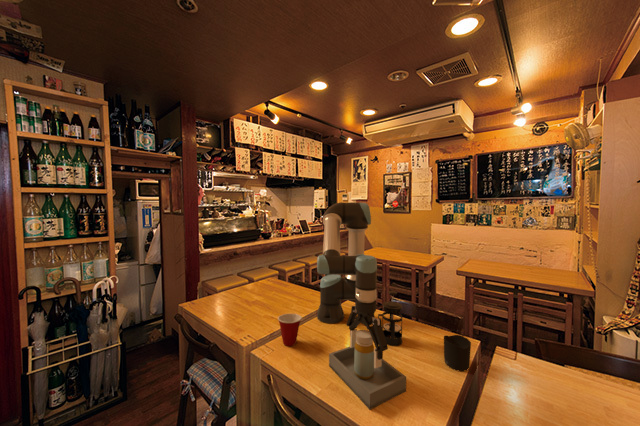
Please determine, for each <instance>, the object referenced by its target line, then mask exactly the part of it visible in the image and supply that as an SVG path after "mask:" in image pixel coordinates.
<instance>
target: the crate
mask: <svg viewBox="0 0 640 426" xmlns="http://www.w3.org/2000/svg"><path fill="white" fill-rule="evenodd" d="M354 351H355V347H353V348H351V347H350V346H348V347H345V348H341V349H338V350H336V351H332V352H330V353H328V366H329V368H330V369H331V370H332V372H334V373H335V374H336V375H337V376H338V377H339V379H340V380H342V382H343V383H344V384H345V385H346V386H347V387H348V388H349V390H351V392H353V393H354V395H356V397H357V398H358V399H359V400H360V401H361V402H362V403H363V405H364V406H365V407H366V408H367V409H369V410H372V409H375V408H376V407H378V406H380V405H382V404H384V403H386V402H388V401H390V400H392V399H393V398H396V397H397V396H399V395H401V394H403V393H405V392H407V376H406V375H405V374H403V372H401V371H399V370H398V369H397V368H396V367H394V366H393V365H391V364H390V363H389V362H387V361H386V360H385V359H384V358H382V366H381V367H378V368H376V369H375V368H374V374H373V376H372V377H371V378H370V379H360V378H359V377H357V376H356V374H355V372H354Z"/></svg>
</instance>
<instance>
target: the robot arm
mask: <svg viewBox="0 0 640 426" xmlns="http://www.w3.org/2000/svg"><path fill="white" fill-rule="evenodd" d="M371 215H372V214H371V209H370V206H369V204H368V203H367V202H355V201H354V202H342V201H341V202H336V203H334V204H332V205H330V206H329V207H328V208H327V209H326V210H325V212H324V214H323V217H322V223H323V226H324V230H323V242H322V243H323V246H322V254H320V255H318V256H317V259H316V270H317V273H318V274H320V275H324V276H323V277H322V278H321V279H320V285H319V289H320V290H319V291H320V293H319V295H320V298H319V299H320V300H319V301H320V303H319V306H318V310H317V312H316V319H317V320H318V321H319V322H321V323H324V324H338V323H341V322H343V321H344V319H345V313H344V310H343V307H342V301H354V302H355V304H354V305H352V306H351V307H350V309H351V310H350V314H349V315H348V318H347V321H346V323H345V324H346V326H347V327H348V329H349V338H350V345H349V347H351V348H353V347H355V343H356V332H357V331H358V329H357V328H358V326H360V324H362V325H363V326H365V327H366V330H368V331H369V332H370V334H371V337H372V339H373V345H374V368H375V369H376V368H378V367H381V366H382V359H384V358H383V357H384V351H386V350H387V351H388V349H389V347H388V346H389V345H387V343H386V339H385V336H384V332H383V330H384V328H383V329H382V318H381V317H379V318H378V317H377V318H376V317H375V313H376V311H377V298H378V297H377V294H378V293H377V291H378V290H377V283H378V282H377V281H378V280H377V278H378V277H377V276H378V275H377V274H378V262H377V261H378V260H377V257H376V256H373V255H369V254H365V239H366V237H365V233H366V230H368V229H369V228H368V226H369V225H371V224H372V218H371V217H372V216H371ZM341 225H345V228H346V229H347V230H348V255H341ZM342 275H344V277H342Z"/></svg>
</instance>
